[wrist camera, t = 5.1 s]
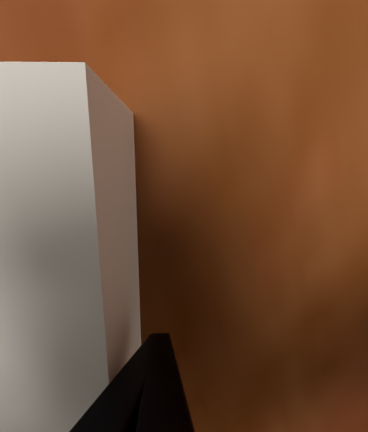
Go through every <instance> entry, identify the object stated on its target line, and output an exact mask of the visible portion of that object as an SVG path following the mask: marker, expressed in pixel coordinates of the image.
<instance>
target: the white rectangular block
mask: <svg viewBox="0 0 368 432" xmlns="http://www.w3.org/2000/svg"><path fill="white" fill-rule="evenodd" d="M140 346H141V325H140V295H139V265H138V236H137V206H136V176H135V146H134V117H133V112H132V111H131V110H130V109H129V108H128V107H127V106H126V105H125V104H124V103H123V102H122V101H121V100H120V99H119V98H118V97H117V95H116V94H115V93H114V92H113V91H112V90H111V89H110V88H109V87H108V86H107V85H106V84H105V83H104V82H103V81H102V80H101V79H100V78H99V77H98V75H97V74H96V73H95V72H94V71H93V70H92V69H91V68H90V67H89V66H88V65H87V64H86V63H85V62H0V432H69V431H70V430H71V429H72V428H73V426H74V425H75V424H76V423H77V422H78V420H79V419H80V418H81V417H82V416H83V414H84V413H85V412H86V411H87V410H88V408H89V407H90V406H91V405H92V404H93V402H94V401H95V400H96V399H97V398H98V396H99V395H100V394H101V393H102V392H103V390H104V389H105V388H106V387H107V386H108V384H109V383H110V382H111V381H112V380H113V378H114V377H115V376H116V375H117V374H118V372H119V371H120V370H121V369H122V368H123V367H124V365H125V364H126V363H127V362H128V361H129V359H130V358H131V357H132V356H133V355H134V353H135V352H136V351H137V350H138V349H139V347H140Z"/></svg>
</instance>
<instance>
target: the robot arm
mask: <svg viewBox="0 0 368 432" xmlns="http://www.w3.org/2000/svg"><path fill="white" fill-rule="evenodd" d="M69 432H195V431H194V427H193V423H192V419H191V415H190V412H189V408H188V404H187V400H186V396H185V392H184V388H183V384H182V380H181V376H180V372H179V369H178V365H177V361H176V357H175V353H174V349H173V345H172V341H171V337H170V334H169V333H155V334H151V335H149V337H148V338H147V339H146V340H145V341H144V343H143V344H142V345H141V346H140V347H139V349H138V350H137V351H136V352H135V353H134V355H133V356H132V357H131V358H130V359H129V361H128V362H127V363H126V364H125V365H124V367H123V368H122V369H121V370H120V371H119V372H118V374H117V375H116V376H115V377H114V378H113V380H112V381H111V382H110V383H109V384H108V386H107V387H106V388H105V389H104V390H103V392H102V393H101V394H100V395H99V396H98V398H97V399H96V400H95V401H94V402H93V404H92V405H91V406H90V407H89V408H88V410H87V411H86V412H85V413H84V414H83V416H82V417H81V418H80V419H79V420H78V422H77V423H76V424H75V425H74V426H73V428H72V429H71V430H70V431H69Z"/></svg>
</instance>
